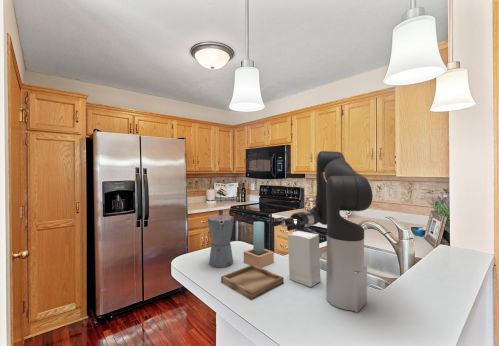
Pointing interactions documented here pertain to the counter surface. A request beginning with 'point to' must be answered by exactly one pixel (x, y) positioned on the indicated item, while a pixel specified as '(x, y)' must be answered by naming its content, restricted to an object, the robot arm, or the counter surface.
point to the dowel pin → (258, 238)
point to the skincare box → (304, 258)
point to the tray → (252, 281)
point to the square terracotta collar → (259, 258)
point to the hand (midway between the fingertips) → (279, 226)
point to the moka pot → (220, 239)
